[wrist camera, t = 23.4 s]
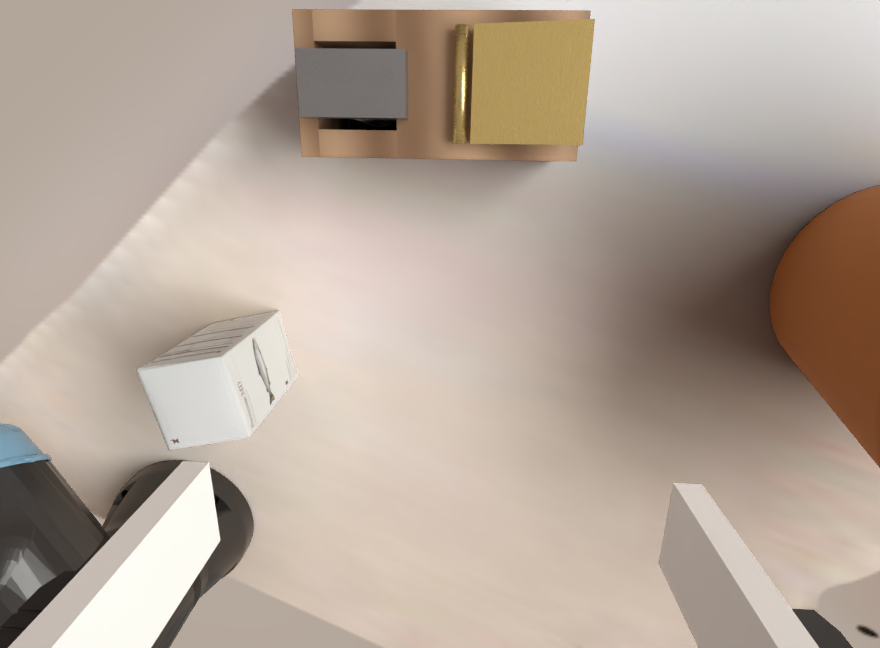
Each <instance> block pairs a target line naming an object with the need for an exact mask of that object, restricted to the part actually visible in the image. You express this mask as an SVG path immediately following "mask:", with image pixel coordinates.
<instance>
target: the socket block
mask: <svg viewBox="0 0 880 648" xmlns="http://www.w3.org/2000/svg"><path fill="white" fill-rule="evenodd" d="M590 12H591V11H568V10H325V9H324V10H323V9H319V10H318V9H314V10H313V9H312V10H311V9H306V10H305V9H292V17H293V32H294V46H295V48H337V49H406V51H407V53H408V120H397V130H350V119H306V118H302V117H299V123H300V138H301V154H302V157H354V158H412V159H471V160H529V161H576V158H577V148H578V145H517V144H470V131H471V100H472V70H473V39H474V24H476V23H503V22H530V21H557V20H584V19H590ZM457 24H468V25H470V28H469V61H468V94H467V127H466V144H453V104H454V60H455V25H457ZM295 63H296V62H295ZM296 78H297V77H296ZM297 93H298V92H297ZM298 108H299V107H298Z"/></svg>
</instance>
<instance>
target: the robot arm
mask: <svg viewBox="0 0 880 648" xmlns="http://www.w3.org/2000/svg"><path fill="white" fill-rule="evenodd" d="M51 460H52V459H51V457H50V456H49V455H47V454H43V453H42V452H41V450H40V449H39V448H38V447H37V446H36V445H35V444H34V443H33V442H32V440H31V439H30V438H29V437H28V436H27V435H26V434H25V433H24V432H23V431H22V430H21V429H20V428H18V427H16V426H13V425H10V424H0V648H169V647H170V646H171V644H172V642H173V641H174V639H175V637H176V635H177V634H178V632H179V631H180V629H181V627H182V626H183V624H184V622H185V621H186V619H187V617H188V616H189V614H190V612H191V611H192V609H193V607H194V606H195V604H196V602H197V601H198V599H199V598H200V597H201V596H202V595H203V594H205V593H206V592H207V591H208V590H209V589H210V588H211V587H212V586H213V585H215V584H216V583H217V582H218V581H219V580H220V579H221V578H223V577H225V576H226V575H227V574H228V573H230V572H231V571H232V570H233V569H234V568H235V567H236V566H237V564H238V563H239V562H240V560H241V559H242V557H243V555H244V553H245V552H246V550H247V548H248V546H249V544H250V542H251V539H252V536H253V529H254V524H253V516H252V513H251V510H250V507H249V505H248V503H247V501H246V499H245V497H244V496H243V495H242V493H241V492H240V491H239V489H238V488H237V487H236V486H235V485H234V484H233V483H232V482H231V481H229V480H228V479H227V478H226V477H224V476H223V475H221V474H220V473H218V472H216V471H215V470H213V469H210V466H209V462H193V461H164V462H159V463H155V464H153V465H150V466H148V467H146V468H144V469H143V470H141V471H140V472H139V473H137V474H136V475H135V476H134V477H133V478H132V479H131V480H130V481H129V482H128V483H127V484H126V485H125V486H124V487H123V488H122V489H121V491H120V492H119V493H118V495H117V496H116V498H115V500H114V502H113V505H112V507H111V509H110V511H109V513H108V515H107V518H106V520H105V522H104V524H103V526H101V524H100V523H99V522H98V521H97V519H96V518H95V517H94V516H93V514H92V513H91V512H90V511H89V509H88V508H87V507H86V506H85V504H84V503H83V502H82V500H81V499H80V498H79V497H78V495H77V494H76V493H75V492H74V490H73V489H72V488H71V487H70V485H69V484H68V483H67V482H66V480H65V479H64V478H63V477H62V475H61V474H60V473H59V472H58V470H57V469H56V468H55V466H54V465H53V464H52V463H51ZM659 565H660V567H661V569H662V571H663V573H664V576H665V578H666V580H667V582H668V584H669V586H670V588H671V590H672V592H673V595H674V597H675V599H676V601H677V603H678V605H679V607H680V609H681V612H682V614H683V616H684V618H685V620H686V622H687V624H688V626H689V629H690V631H691V633H692V635H693V637H694V639H695V641H696V643H697V646H698V648H853V647H852V646H851V645H850V644H849V642H848V641H847V640H846V639H845V637H844V636H843V635H842V634H841V632H840V631H839V630H837V629H836V628H835V627H834V626H833V625H831V624H830V623H829V622H828V621H826V620H825V619H824V618H823V617H822V616H820V615H819V614H818V613H817V612H816V611H814V610H804V609H791V608H790V606H789V605H788V603H787V602H786V601H785V599H784V598H783V596H782V595H781V594H780V592H779V591H778V589H777V588H776V587H775V585H774V584H773V582H772V581H771V580H770V578H769V577H768V575H767V574H766V573H765V571H764V570H763V569H762V567H761V566H760V564H759V563H758V562H757V560H756V559H755V557H754V556H753V555H752V553H751V552H750V550H749V549H748V548H747V546H746V545H745V543H744V542H743V541H742V539H741V538H740V536H739V535H738V534H737V532H736V531H735V530H734V528H733V527H732V525H731V524H730V523H729V521H728V520H727V518H726V517H725V516H724V514H723V513H722V511H721V510H720V509H719V507H718V506H717V504H716V503H715V502H714V500H713V499H712V497H711V496H710V495H709V493H708V492H707V491H706V489H705V488H704V486H703V485H702V484H689V483H673V489H672V494H671V499H670V505H669V510H668V515H667V520H666V526H665V531H664V536H663V542H662V547H661V552H660V558H659Z"/></svg>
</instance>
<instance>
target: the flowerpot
mask: <svg viewBox="0 0 880 648" xmlns="http://www.w3.org/2000/svg"><path fill="white" fill-rule="evenodd" d="M769 311H770V317H771V324H772V327H773V330H774V332H775V335H776V337H777V340H778V342H779V343H780V345H781V346H782V347H783V349H784V350H785V351H786V353H787V354H788V355H789V357H790V358H791V359H792V360H793V362H794V363H795V364H796V365H797V366H798V368H799V369H800V370H801V371H802V373H803V374H804V375H805V376H806V378H807V379H808V380H809V381H810V382H811V384H812V385H813V386H814V387H815V389H816V390H817V391H818V392H819V394H820V395H821V396H822V397H823V398H824V400H825V401H826V402H827V403H828V405H829V406H830V407H831V408H832V410H833V411H834V412H835V413H836V415H837V416H838V417H839V418H840V419H841V421H842V422H843V423H844V424H845V426H846V427H847V428H848V429H849V431H850V432H851V433H852V434H853V435H854V437H855V438H856V439H857V440H858V442H859V443H860V444H861V445H862V447H863V448H864V449H865V450H866V451H867V453H868V454H869V455H870V456H871V458H872V459H873V460H874V461H875V463H876V464H877V465H878V466H879V467H880V185H877V186H874V187H871V188H868V189H865V190H861V191H858V192H855V193H853V194H851V195H849V196H847V197H845V198H843V199H841V200H839V201H837V202H835V203H833V204H832V205H831V206H829V207H828V208H826V209H825V210H824V211H822V212H821V213H819V214H818V215H817V216H815V217H814V218H813V219H812V220H811V221H810V222H809V223H808V224H807V225H806V226H805V227H804V228H803V229H802V230H801V231H800V232H799V233H798V234H797V236H796V237H795V238H794V240H793V241H792V242H791V244H790V245H789V247H788V248H787V249H786V251H785V252H784V254H783V257H782V259H781V261H780V263H779V265H778V267H777V269H776V271H775V275H774V278H773V282H772V286H771V289H770V302H769Z"/></svg>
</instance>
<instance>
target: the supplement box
mask: <svg viewBox="0 0 880 648" xmlns="http://www.w3.org/2000/svg"><path fill="white" fill-rule="evenodd" d="M137 373H138V376H139V378H140V381H141V383H142V385H143V388H144V390H145V393H146V395H147V398H148V400H149V403H150V405H151V408H152V410H153V413H154V415H155V418H156V420H157V422H158V425H159V427H160V430H161V432H162V434H163V437H164V440H165V442H166V444H167V448H168V450H170V451H171V450H176V449H182V448H187V447H194V446H200V445H207V444H213V443H220V442H226V441H233V440H239V439H245V438H249V437H251V435H252V434H253V433H254V431H255V430H256V429H257V428H258V427H259V425H260V424H261V423H262V421H263V420H264V419H265V418H266V416H267V415H268V414H269V413H270V412H271V410H272V409H273V408H274V406H275V405H276V404H277V403H278V401H279V400H280V399H281V398H282V396H283V395H284V394H285V393H286V391H287V390H288V389H289V388H290V386H291V385H292V384H293V383H294V381H295V380H296V379H297V378H298V376H299V373H298V370H297V367H296V364H295V362H294V359H293V355H292V352H291V349H290V346H289V342H288V339H287V335H286V332H285V329H284V325H283V321H282V317H281V313H280V311H274V312H269V313H263V314H258V315H253V316H247V317H242V318H236V319H231V320H225V321H220V322H215V323H212V324H210V325H209V326H207V327H206V328H204V329H202V330H200V331H199V332H197V333H195V334H194V335H192V336H191V337H189V338H187V339H186V340H184V341H183V342H181V343H179V344H178V345H176V346H175V347H173V348H171V349H170V350H168V351H167V352H165V353H163V354H162V355H160V356H159V357H157V358H155V359H154V360H152V361H150V362H149V363H147V364H145V365H143V366H141V367H139V368H138V369H137Z"/></svg>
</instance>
